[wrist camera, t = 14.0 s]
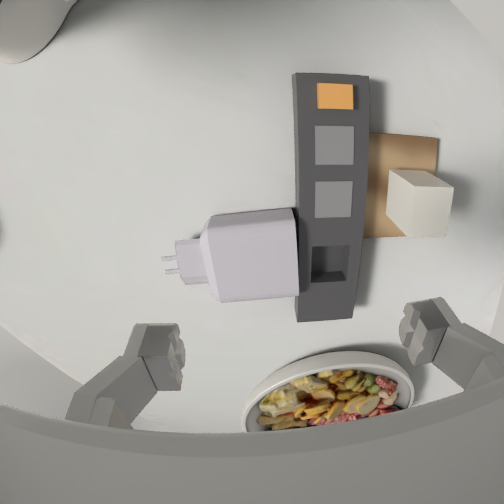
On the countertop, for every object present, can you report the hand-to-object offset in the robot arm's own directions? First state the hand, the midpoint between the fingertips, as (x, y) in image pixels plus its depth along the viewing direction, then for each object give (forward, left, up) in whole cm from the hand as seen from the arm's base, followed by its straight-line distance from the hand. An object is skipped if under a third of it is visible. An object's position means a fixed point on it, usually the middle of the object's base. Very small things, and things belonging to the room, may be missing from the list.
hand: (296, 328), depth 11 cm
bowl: (+40, +9, -25) cm, 49 cm away
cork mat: (+2, +15, -25) cm, 29 cm away
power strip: (+4, +6, -25) cm, 26 cm away
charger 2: (+2, +15, -24) cm, 28 cm away
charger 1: (+10, -5, -25) cm, 27 cm away
